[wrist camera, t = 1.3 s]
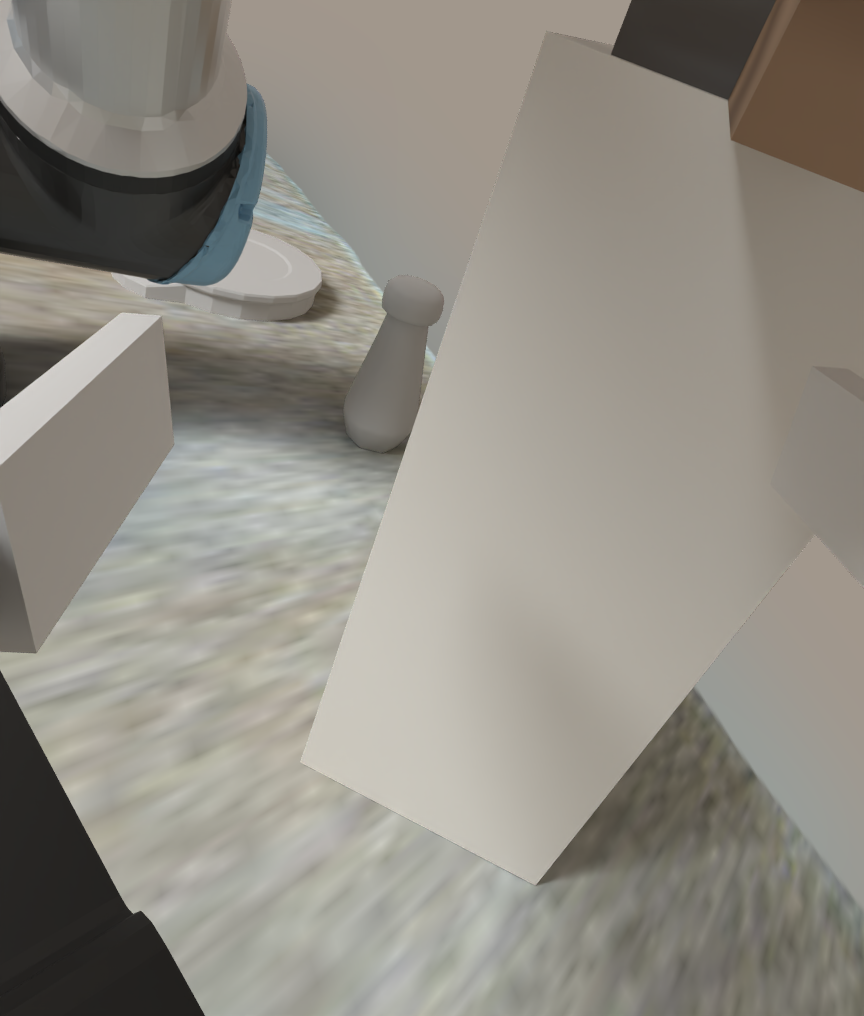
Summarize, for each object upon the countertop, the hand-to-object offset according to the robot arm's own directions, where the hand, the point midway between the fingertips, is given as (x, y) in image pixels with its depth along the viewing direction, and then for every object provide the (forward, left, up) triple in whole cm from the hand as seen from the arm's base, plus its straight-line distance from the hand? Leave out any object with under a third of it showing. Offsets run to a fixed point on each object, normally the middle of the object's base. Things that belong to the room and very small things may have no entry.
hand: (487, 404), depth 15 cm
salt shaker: (-31, +19, -24) cm, 44 cm away
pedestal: (-6, +12, -24) cm, 28 cm away
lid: (-58, +15, -24) cm, 65 cm away
